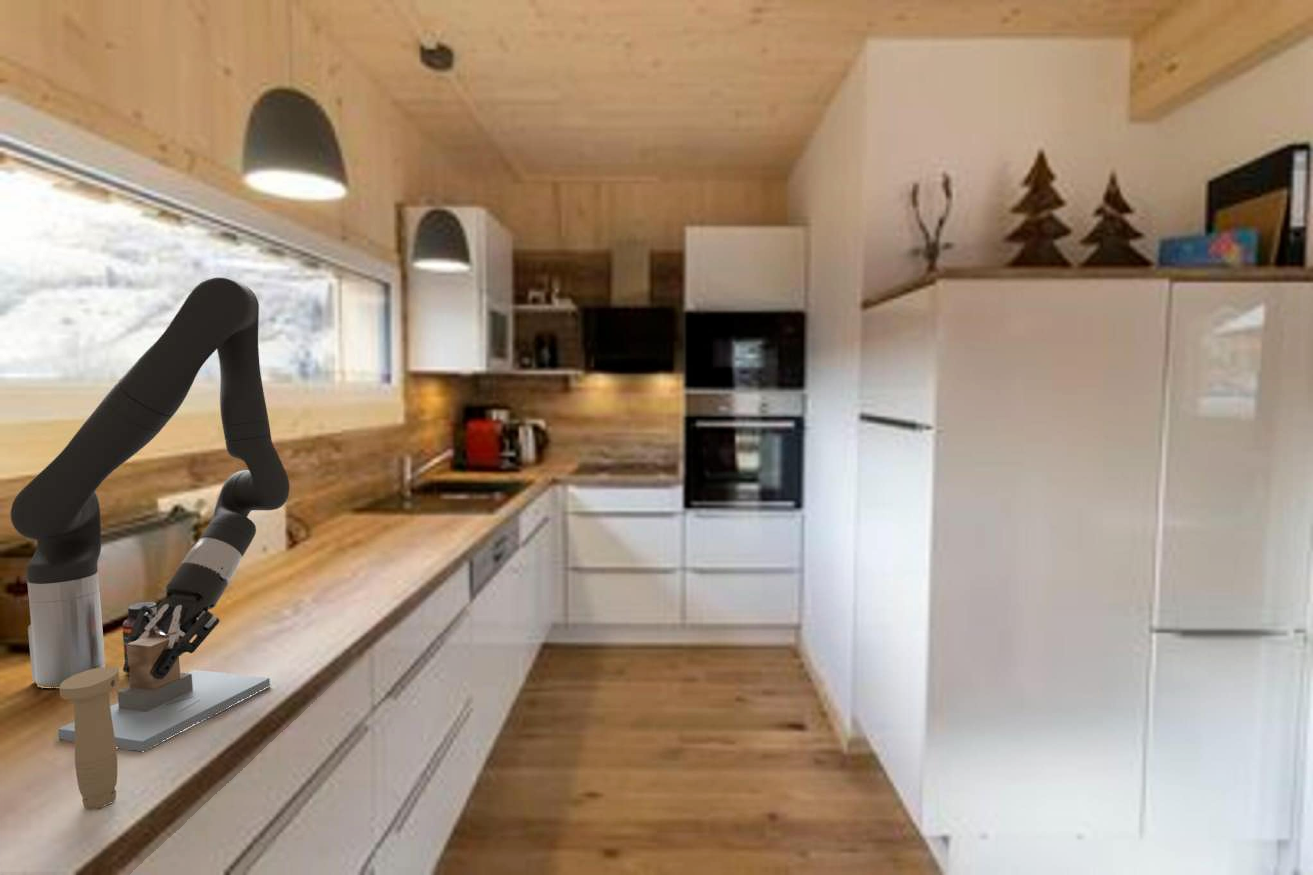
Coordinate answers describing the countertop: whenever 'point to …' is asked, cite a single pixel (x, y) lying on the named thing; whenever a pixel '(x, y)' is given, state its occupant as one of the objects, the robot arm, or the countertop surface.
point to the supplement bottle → (130, 622)
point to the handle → (94, 734)
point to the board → (177, 710)
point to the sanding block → (145, 686)
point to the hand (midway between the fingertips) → (142, 674)
